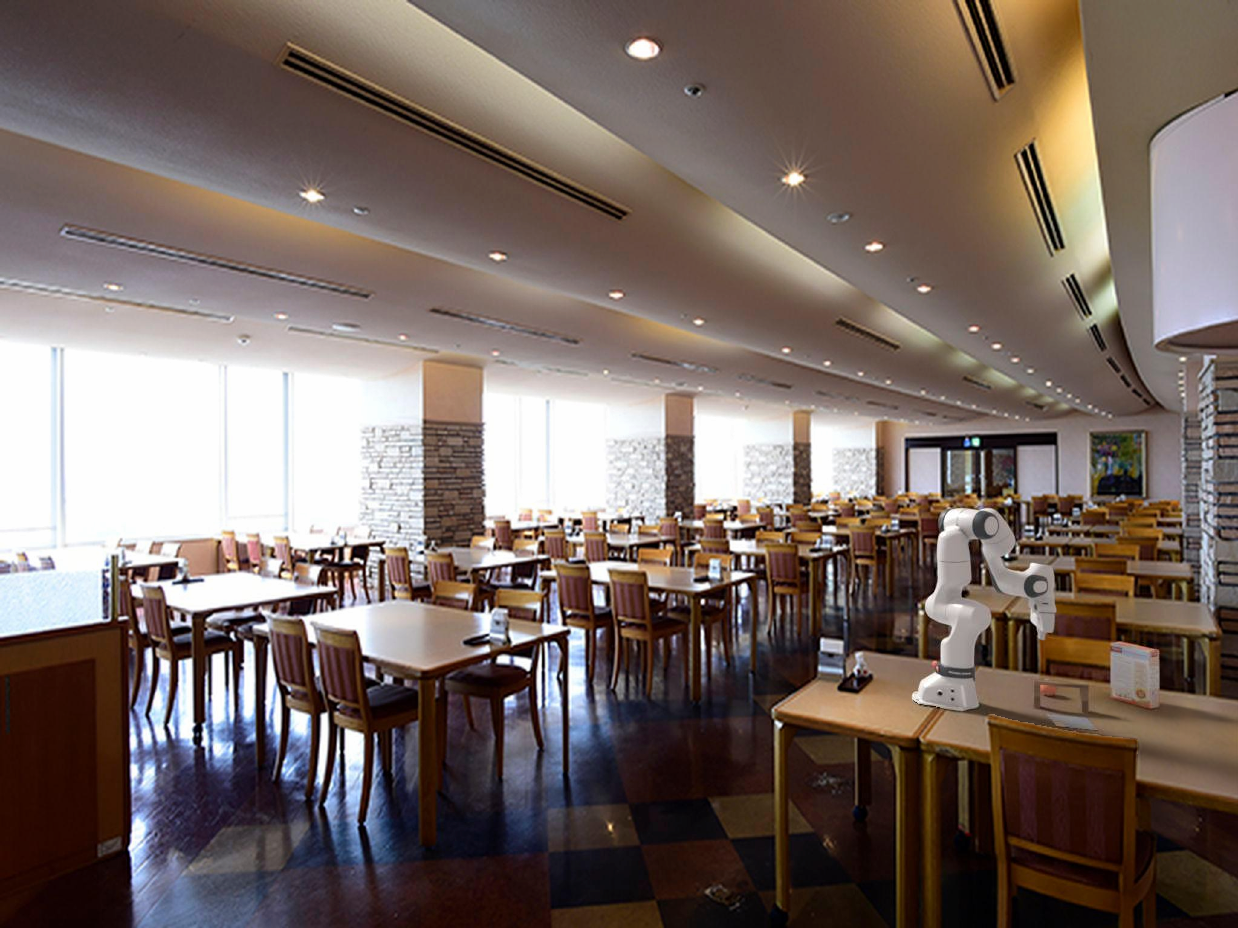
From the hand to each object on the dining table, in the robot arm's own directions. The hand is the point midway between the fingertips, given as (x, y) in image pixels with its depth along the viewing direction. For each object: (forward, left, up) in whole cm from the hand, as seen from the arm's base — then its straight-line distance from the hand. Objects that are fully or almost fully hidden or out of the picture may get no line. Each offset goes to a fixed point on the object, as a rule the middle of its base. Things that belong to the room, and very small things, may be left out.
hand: (1041, 639), depth 280 cm
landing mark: (0, -39, -19) cm, 44 cm away
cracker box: (+28, -9, -19) cm, 35 cm away
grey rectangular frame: (0, -25, -19) cm, 32 cm away
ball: (0, -9, -16) cm, 19 cm away
